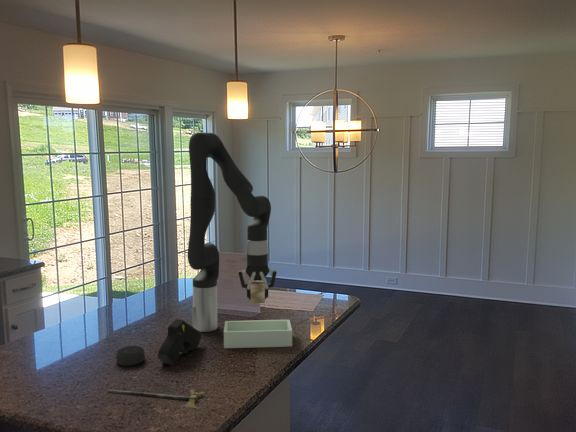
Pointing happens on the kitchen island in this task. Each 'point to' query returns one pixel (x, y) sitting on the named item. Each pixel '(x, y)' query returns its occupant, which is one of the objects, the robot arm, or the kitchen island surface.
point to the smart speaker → (130, 355)
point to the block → (257, 292)
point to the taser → (178, 341)
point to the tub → (257, 333)
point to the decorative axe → (165, 396)
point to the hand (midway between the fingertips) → (257, 298)
